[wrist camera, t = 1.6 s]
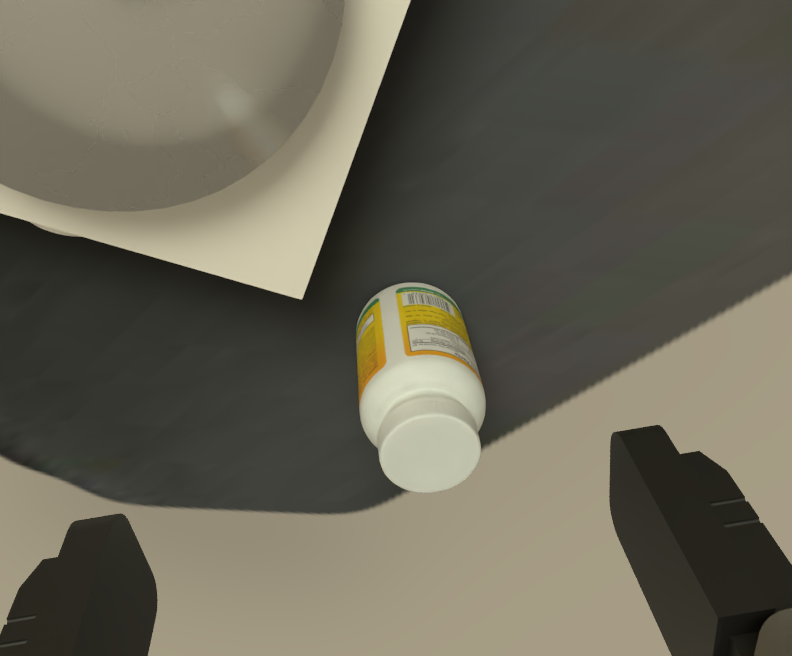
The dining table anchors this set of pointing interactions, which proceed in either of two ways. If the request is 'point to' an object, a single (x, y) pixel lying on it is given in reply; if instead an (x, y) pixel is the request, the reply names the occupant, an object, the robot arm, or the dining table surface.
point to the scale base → (259, 181)
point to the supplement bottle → (419, 387)
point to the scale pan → (153, 94)
